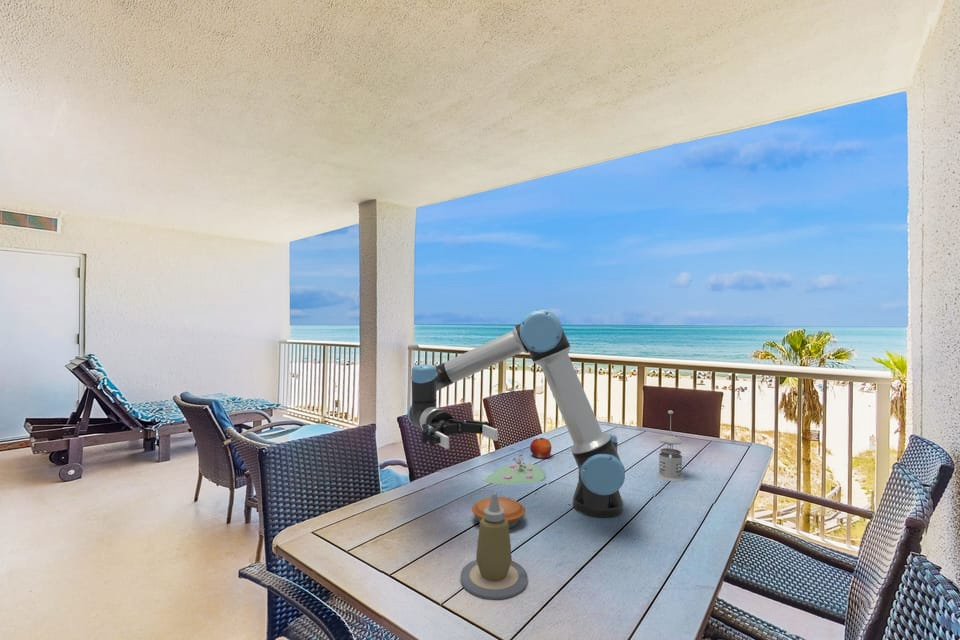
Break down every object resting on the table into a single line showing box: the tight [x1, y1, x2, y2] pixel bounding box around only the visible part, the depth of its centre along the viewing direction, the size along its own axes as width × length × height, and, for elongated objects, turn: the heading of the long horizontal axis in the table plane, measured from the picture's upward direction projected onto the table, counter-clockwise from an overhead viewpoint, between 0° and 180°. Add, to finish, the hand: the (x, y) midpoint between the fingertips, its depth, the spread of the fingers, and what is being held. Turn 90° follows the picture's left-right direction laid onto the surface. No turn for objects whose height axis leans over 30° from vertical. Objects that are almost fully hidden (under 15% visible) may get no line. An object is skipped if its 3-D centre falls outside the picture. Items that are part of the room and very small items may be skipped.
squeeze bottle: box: [475, 492, 513, 581], centre depth 99 cm, size 8×8×18 cm
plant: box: [483, 450, 547, 486], centre depth 166 cm, size 25×21×9 cm
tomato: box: [529, 437, 553, 459], centre depth 190 cm, size 9×9×8 cm
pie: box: [471, 496, 526, 529], centre depth 128 cm, size 15×16×5 cm
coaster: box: [460, 559, 529, 601], centre depth 99 cm, size 15×15×1 cm
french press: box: [656, 409, 686, 482], centre depth 166 cm, size 10×12×25 cm
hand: (473, 439), depth 108 cm, fingers open, 13 cm apart
